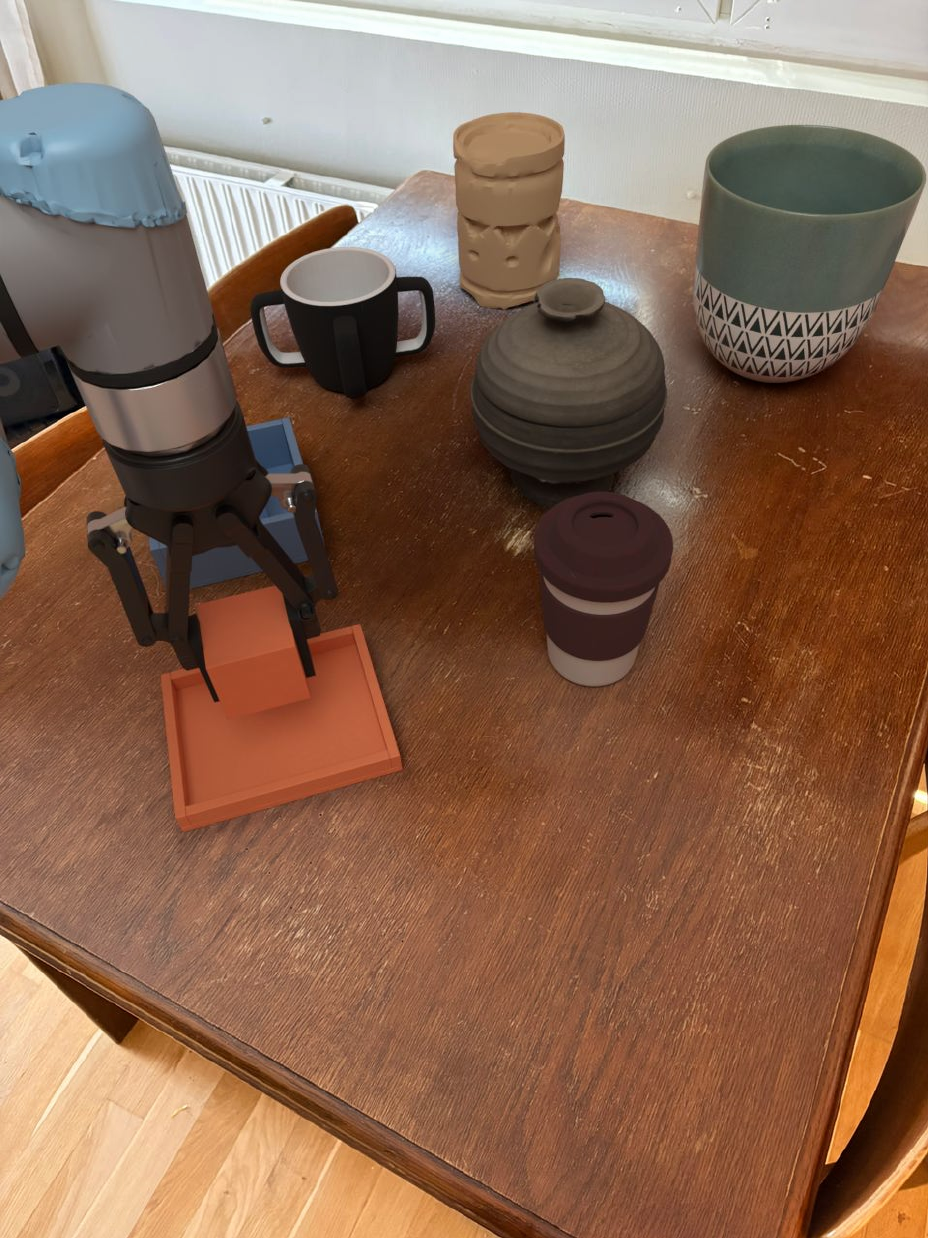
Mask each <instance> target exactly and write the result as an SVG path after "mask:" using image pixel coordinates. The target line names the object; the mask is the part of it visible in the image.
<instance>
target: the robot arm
mask: <svg viewBox="0 0 928 1238" xmlns="http://www.w3.org/2000/svg"><path fill="white" fill-rule="evenodd" d="M212 307H213V306H212V304H211V300H210V295H209V292H208V288H207V285H206V281H205V277H204V274H203V269H202V266H201V263H200V259H199V256H198V252H197V247H196V243H195V241H194V237H193V233H192V229H191V225H190V221H189V218H188V209H187V205H186V201H183V198H182V195H181V193H180V191H179V188H178V185H177V182H176V179H175V175H174V173H173V169H172V166H171V164H170V161H169V158H168V155H167V152H166V149H165V146H164V143H163V140H162V137H161V134H160V131H159V128H158V125H157V121H156V120H155V117H154V115H153V114H152V112H151V111H150V109H149V108H148V107H147V106H145V104H144V103H142V101H140V100H139V99H138V98H137V97H135V96H134V95H133V94H131V93H129V92H128V91H126V90H123V89H121V88H119V87H115V86H112V85H108V84H102V83H95V82H66V83H65V82H64V83H56V84H49V85H44V86H39V87H34V88H30V89H26V90H23V91H22V92H21V94H19V95H17V96H14V97H11V98H4V99H1V100H0V365H3V364H6V363H9V362H13V361H17V360H20V359H24V358H27V357H30V356H33V355H37V354H39V353H40V352H41V351H45V350H48V349H52V348H56V347H59V348H60V349H61V350H62V354H63V356H64V359H65V361H66V363H67V366H68V368H69V371H70V372H71V375H72V378H73V379H74V382H75V384H76V387H77V389H78V391H79V393H80V396H81V398H82V401H83V402H84V405H85V407H86V410H87V412H88V414H89V417H90V419H91V421H92V424H93V425H94V428H95V430H96V432H97V434H99V436H100V437H101V439H102V445H103V447H104V450H105V452H106V454H107V457H108V459H109V462H110V464H111V465H112V467H113V470H114V473H115V474H116V477H117V479H118V482H119V483H120V486H121V488H122V491H123V494H124V495H125V496H124V500H123V507H121V508H120V509H117V510H115V511H113V512H111V513H109V514H107V513H106V512H104V511H100V510H94V511H91V512H89V513H88V514H87V515H86V538H87V549H88V550H89V551H90V552H91V554H93V556H95V557H96V558H97V559H98V560H99V561H100V562H101V563H102V564H103V565H104V566H105V567H106V568H107V570H108V572H109V575H110V577H111V580H112V582H113V585H114V587H115V590H116V592H117V594H118V597H119V600H120V602H121V605H122V608H123V610H124V612H125V615H126V617H127V620H128V622H129V625H130V628H131V630H132V632H133V635H134V638H135V640H136V643H137V644H138V646H141V647H143V648H149V647H152V646H154V645H156V643H157V642H165V643H168V644H169V645H171V647H172V649H173V651H174V653H175V655H176V657H177V660H178V662H179V665H180V666H181V669H185V670H186V671H189V670H193V669H196V668H199V669H200V671H201V673H202V676H203V678H204V680H205V682H206V685H207V687H208V689H209V691H210V694H211V696H212V698H213V700H214V703H215V702H219V701H220V700H219V698H218V695H217V693H216V691H215V689H214V686H213V684H212V682H211V679H210V677H209V675H208V673H207V670H206V666H205V659H204V652H203V650H204V649H203V642H202V636H201V629H200V622H199V617H198V613H195V614H189V613H190V612H189V611H190V593H191V592H190V590H191V589H190V572H192V556H194V555H198V554H202V553H205V552H207V551H209V550H211V549H214V548H221V547H232V546H236V545H237V546H238V547H239V548H240V549H241V550H242V551H243V553H244V554H245V555H246V556H247V557H248V558H252V559H253V560H254V561H255V562H256V564H257V565H258V566H259V567H260V568H261V569H262V571H263V572H262V573H264V574H265V575H266V577H267V578H269V580H270V581H271V582H272V584H273V585H274V586H276V587H277V588H278V589H279V590H280V591H281V593H282V594H283V599H284V603H285V607H286V611H287V616H288V620H289V623H290V627H291V629H292V632H293V635H294V639H295V642H296V645H297V649H298V652H299V655H300V659H301V662H302V665H303V669H304V672H305V675H306V678H309V677H313V676H316V673H315V669H314V665H313V661H312V657H311V653H310V649H309V645H308V642H307V639H311V638H314V637H318V636H320V634H322V633H321V632H322V629H321V625H320V621H319V617H318V615H317V614H318V613H317V611H316V606H317V604H318V603H319V602H320V601H322V600H324V601H333V600H335V599H336V598H338V596H339V593H340V592H339V588H338V584H337V581H336V579H335V574H334V571H333V568H332V564H331V561H330V558H329V555H328V552H327V549H326V545H325V542H324V543H323V540H324V539H323V540H322V537H321V534H320V531H319V528H318V525H317V522H316V519H315V510H317V503H318V501H317V500H318V493H317V492H318V491H317V489H316V485H315V482H314V479H313V475H312V471H311V469H310V468H309V466H308V465H307V464H304V463H303V464H299V465H296V466H294V467H293V468H292V469H291V472H290V474H268V472H267V470H266V469H265V468H264V467H263V466H262V465H261V464H260V463H259V462H258V461H257V460H256V458H255V455H254V452H253V448H252V445H251V441H250V438H249V434H248V431H247V427H246V426H247V424H246V420H245V417H244V414H243V413H244V412H243V410H242V407H241V404H240V403H239V401H238V400H237V399H238V395H237V390H236V387H235V383H234V380H233V376H232V372H231V369H230V364H229V362H228V358H227V354H226V351H225V350H226V349H225V346H224V343H223V339H222V336H221V332H220V330H219V328H218V325H217V321H216V318H215V314H214V311H213V308H212ZM17 463H18V462H17V459H16V455H15V453H14V452H13V450H12V449H11V447H10V446H9V442H8V439H7V436H6V432H5V429H4V425H3V421H2V418H1V417H0V601H2V599H3V598H4V597H5V596H6V594H7V593H8V592H9V591H10V589H11V587H12V586H13V584H14V583H15V581H16V579H17V576H18V573H19V571H20V568H21V566H22V563H23V560H24V559H25V557H26V543H25V532H24V525H23V520H22V513H21V507H20V500H21V494H22V478H21V477H20V475H19V472H18V470H17V467H18V465H17ZM271 496H274V497H277V498H278V499H279V500H280V504H281V506H282V507H283V508H284V509H287V511H288V512H289V513H293V515H294V519H295V523H296V526H297V530H298V533H299V535H300V538H301V541H302V544H303V547H304V550H305V552H306V555H307V558H308V561H307V562H308V563H309V566H310V569H311V572H312V573H311V574H309V575H308V576H306V575H305V574H304V573H303V572H302V571H301V570H300V568H299V567H298V565H297V564H294V562H293V561H292V560H291V559H290V557H289V556H288V555H287V554H286V552H285V551H284V550H283V549H282V547H281V546H280V545H279V544H278V542H277V541H276V540H275V539H274V537H273V536H272V535H271V534H270V533H269V531H268V530H267V529H266V528H265V526H264V525H263V524H262V522H261V520H260V518H259V517H260V515H261V513H262V511H263V510H264V508H265V506H266V504H267V502H268V500H269V499H270V497H271ZM132 530H135V531H138V532H139V533H141V534H143V535H145V536H146V537H148V538H149V537H151V538H153V539H154V540H156V541H158V542H160V543H162V544H164V545H166V546H167V557H166V586H165V601H164V602H165V606H163V607H164V612H154V609H153V606H152V604H151V600H150V598H149V595H148V593H147V590H146V587H145V583H144V582H143V578H142V576H141V572H140V571H139V567H138V565H137V562H136V559H135V557H134V553H133V551H132V549H131V546H132V543H133V540H132V539H133V538H132ZM324 545H325V546H324Z"/></svg>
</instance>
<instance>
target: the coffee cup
mask: <svg viewBox="0 0 928 1238" xmlns="http://www.w3.org/2000/svg"><path fill="white" fill-rule="evenodd" d="M673 551H674V540H673V534H672V532H671V529H670V527H669V526H668V523H667V522H666V521H665V519H663V517H661V515H660V514H659V513H657V511H655V510H654V509H653V508H651V506H648V505H647V504H645V503H643V502H641V501H638V500H637V499H635V498H632V497H630V496H628V495H626V494H622V493H618V492H614V491H613V492H612V491H607V492H592V493H586V494H583V495H580V496H576V497H572V498H569V499H567V500H564V501H562V502H560V503H558V504H557V505H555V506H554V507H552V508H549V509H548V510H547V511H546V512H545V513H544V514H543V516H542V517H541V518H540V520H539V521H538V523H537V525H536V528H535V530H534V538H533V557H534V561H535V564H536V566H537V569H538V571H539V579H540V591H541V592H540V593H541V594H540V596H541V609H542V611H541V612H542V621H543V627H544V631H545V633H546V645H547V656H548V659H549V661H550V663H551V665H552V667H553V668H554V670H555V671H556V672H557V673H558V674H559V675H560V676H562V677H563V678H565V679H566V680H567V681H570V682H572V683H574V684H576V685H579V686H583V687H603V686H608V685H612V684H614V683H617V682H618V681H620V680H622V679H623V678H624V677H626V676H627V674H628V673H630V671H631V669H632V668H633V666H634V665H635V662H636V660H637V655H638V651H639V648H640V644H641V642H642V641H643V640H644V638H645V636H646V633H647V629H648V627H649V623H650V619H651V616H652V612H653V610H654V609H653V608H654V605H655V602H656V598H657V595H658V590H659V587H660V583H662V581H663V580H664V579H665V577H666V575H667V573H668V572H669V568H670V566H671V564H672V563H671V562H672V557H673Z"/></svg>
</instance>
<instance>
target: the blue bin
mask: <svg viewBox="0 0 928 1238" xmlns="http://www.w3.org/2000/svg"><path fill="white" fill-rule="evenodd" d="M246 427H247V431H248V434H249V438H250V441H251V445H252V448H253V452H254V455H255V458H256V460H257V461H258V462H259V463H260V464H261V465H262V466H263V467H264V468H265V469H266V470H267V472H268V474H290V472H291V469H292V468H293V467H294V466H296V465H299V464H304V462H303V458H302V456H301V452H300V448H299V446H298V442H297V438H296V434H295V431H294V428H293V424H292V421H291V417H290V416H288V417H283V418H279V419H275V420H269V421H266V422H260V423H256V424H251V425H246ZM266 508H267V512H268V516H269V517H267V518H263V519H260V520H261V522H262V524H263V525H264V526H265V528H266V529H267V530H268V531H269V533H270V534H271V535H272V536H273V537H274V539H275V540H276V541H277V542H278V544H279V545H280V546H281V547H282V549H283V550H284V551H285V552H286V554H287V555H288V556H289V557H290V559H291V560H292V561H293V562H294V564H295V565H297V564H299V563H300V564H301V563H304V562H309V561H308V558H307V555H306V552H305V550H304V547H303V544H302V541H301V538H300V535H299V533H298V530H297V526H296V523H295V519H294V515H293V513H289V512H288V511H287V509H284V508H283V507H282V506H281V504H280V500H279V499H278V498H277V497H274V496H271V497H270V499H269V500H268V502H267V504H266ZM315 519H316V522H317V525H318V528H319V531H320V534H321V537H322V540H323V543H324V546H325V547H326V545H325V541H324V536H323V532H322V528H321V523H320V518H319V514H318V510H317V509H316V510H315ZM148 543H149V551H150V554H151V557H152V558H153V561H154V563H155V566H156V568H157V570H158V572H159V575H160V577H161V579H162V581H163V584H164V586H165V587H166V557H167V546H166V545H164V544H162V543H160V542H158V541H156V540H154V539H153V538H151V537H149V536H148ZM259 573H264V572H263V571H262V569H261V568H260V567H259V566H258V565H257V564H256V562H255V561H254V560H253V559H252V558H248V557H247V556H246V555H245V554H244V553H243V551H242V550H241V549H240V548H239V547H238V546H237V545H236V546H232V547H221V548H214V549H211V550H209V551H207V552H205V553H202V554H198V555H194V556H192V572H190V590H193V589H197V588H202V587H205V586H210V585H215V584H218V583H222V582H227V581H230V580H234V579H238V578H242V577H247V576H250V575H255V574H259Z"/></svg>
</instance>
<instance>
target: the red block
mask: <svg viewBox="0 0 928 1238" xmlns="http://www.w3.org/2000/svg"><path fill="white" fill-rule="evenodd" d="M196 609H197V617H198V619H199V622H200V629H201V636H202V642H203V649H204V650H203V652H204V659H205V666H206V670H207V673H208V675H209V677H210V679H211V682H212V684H213V686H214V689H215V691H216V693H217V695H218V698H219V700H220V702H221V705H222V707H223V709H224V712H225V714H226V716H227V718H228V720H230V719H233V718H237V717H241V716H245V715H248V714H252V713H256V712H260V711H263V710H267V709H271V708H275V707H278V706H282V705H286V704H290V703H293V702H297V701H301V700H305V699H308V698H311V695H310V691H309V687H308V682H307V678H306V675H305V672H304V669H303V665H302V662H301V659H300V655H299V652H298V649H297V645H296V642H295V639H294V635H293V632H292V629H291V627H290V623H289V620H288V616H287V611H286V607H285V603H284V599H283V594H282V593H281V591H280V590H279V589H278V588H277V587H276V586H275V585H271V586H267V587H263V588H259V589H255V590H251V591H247V592H243V593H239V594H238V593H237V594H235V595H231V596H227V597H223V598H219V599H218V598H217V599H213V600H210V601H206V602H201V603H198V604H196Z"/></svg>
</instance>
